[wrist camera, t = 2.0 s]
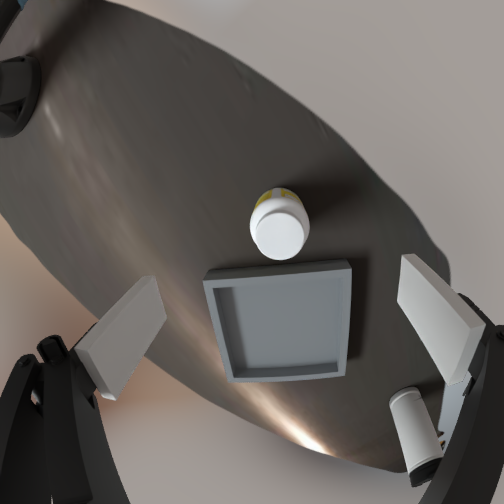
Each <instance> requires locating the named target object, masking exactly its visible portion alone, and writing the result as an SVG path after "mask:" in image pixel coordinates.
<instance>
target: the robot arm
mask: <svg viewBox="0 0 504 504" xmlns="http://www.w3.org/2000/svg"><path fill="white" fill-rule="evenodd" d="M27 1H28V0H0V44H1V42H2V40H3V38H4V37H5V35H6V33H7V32H8V30H9V28H10V27H11V25H12V24H13V22H14V20H15V19H16V17H17V16H18V14H19V13H20V11H22V10H23V8H24V5H25V4H26V2H27ZM40 82H41V69H40V65H39V62H38V61H37V59H35V58H34V57H29V56H18V57H14V58H10V59H6V60H2V61H0V138H7V137H13V136H15V135H17V134H18V133H19V132H20V131H21V130H22V129H23V128H24V126H25V125H26V123H27V122H28V120H29V118H30V116H31V114H32V112H33V109H34V107H35V104H36V101H37V97H38V94H39V89H40ZM397 302H398V304H399V305H400V307H401V308H402V310H403V311H404V313H405V314H406V316H407V317H408V319H409V320H410V322H411V324H412V325H413V327H414V328H415V330H416V332H417V333H418V335H419V336H420V338H421V340H422V341H423V343H424V345H425V346H426V348H427V350H428V352H429V353H430V355H431V357H432V358H433V360H434V362H435V364H436V365H437V367H438V369H439V371H440V373H441V375H442V376H443V378H444V380H445V382H446V384H447V386H451V385H454V384H457V383H459V382H462V381H463V380H464V378H465V375H466V373H467V371H469V372H470V374H471V376H472V377H471V379H470V381H469V383H468V386H467V387H466V389H465V391H464V393H463V396H465V398H464V402H463V405H462V408H461V411H460V414H459V417H458V420H457V423H456V426H455V429H454V431H453V434H452V437H451V439H450V442H449V444H448V447H447V449H446V452H445V454H444V456H443V458H442V460H441V462H440V465H439V467H438V469H437V471H436V473H435V475H434V477H433V479H432V481H431V483H430V485H429V486H428V488H427V490H426V492H425V493H424V495H423V497H422V499H421V500H420V502H419V504H490V503H491V500H492V497H493V495H494V492H495V490H496V487H497V484H498V481H499V478H500V475H501V472H502V468H503V464H504V325H497V326H495V325H494V324H493V323H492V322H491V320H490V319H489V318H488V317H487V316H486V315H485V314H484V313H483V312H482V311H481V310H479V308H478V307H477V306H476V305H475V304H474V303H473V302H472V301H471V300H470V299H469V298H468V297H466V296H464V295H462V294H461V293H458V294H457V293H456V292H455V291H454V290H453V289H452V288H451V287H450V286H449V285H448V284H447V283H446V282H445V281H444V280H443V279H441V278H440V277H439V276H438V275H437V274H436V273H435V272H434V271H433V270H432V269H431V268H430V267H429V266H428V265H426V264H425V263H424V262H423V261H422V260H421V259H420V258H419V257H417V256H416V255H415V254H407V255H402V260H401V272H400V282H399V291H398V299H397ZM166 319H167V316H166V313H165V309H164V306H163V303H162V300H161V296H160V293H159V289H158V286H157V282H156V279H155V275H153V276H143V277H141V278H140V279H139V280H138V281H137V282H136V283H135V284H134V285H133V286H132V287H131V288H130V289H129V290H128V291H127V292H126V293H125V294H124V295H123V296H122V297H121V299H120V300H119V301H118V302H117V303H116V304H115V305H114V306H113V307H112V308H111V309H110V310H109V311H108V312H107V313H106V314H105V315H104V316H103V317H102V318H101V319H100V320H99V321H98V322H97V323H95V324H94V325H93V326H92V327H91V328H90V329H89V330H88V332H86V333H85V334H84V335H83V337H81V339H80V340H79V341H78V342H77V343H76V344H75V345H74V346H73V347H72V348H71V350H70V351H69V352H68V350H67V348H66V346H65V344H64V342H63V340H62V338H61V336H59V335H52V336H48V337H46V338H45V339H43V340H42V341H40V343H39V344H38V346H37V350H38V352H39V354H40V355H41V357H42V359H43V361H44V362H45V363H39V362H38V360H37V359H36V357H35V355H33V354H27V355H24V356H22V357H21V358H20V359H19V360H18V361H17V362H16V364H15V366H14V368H13V370H12V372H11V374H10V376H9V379H8V381H7V383H6V385H5V388H4V390H3V392H2V395H1V397H0V504H51V494H52V499H53V504H130V502H129V499H128V497H127V495H126V492H125V490H124V488H123V485H122V482H121V480H120V477H119V475H118V472H117V469H116V466H115V463H114V461H113V458H112V455H111V451H110V448H109V445H108V442H107V439H106V435H105V431H104V427H103V424H102V420H101V416H100V412H99V407H98V403H97V399H96V397H95V395H94V394H93V392H94V391H95V390H96V388H97V389H98V391H99V392H100V394H101V395H102V397H104V398H108V399H112V400H117V398H118V396H119V395H120V393H121V391H122V390H123V388H124V386H125V384H126V383H127V381H128V380H129V378H130V376H131V375H132V373H133V372H134V370H135V368H136V367H137V365H138V363H139V362H140V360H141V359H142V357H143V355H144V354H145V352H146V350H147V349H148V347H149V346H150V344H151V342H152V341H153V339H154V338H155V336H156V335H157V333H158V331H159V330H160V328H161V327H162V325H163V324H164V322H165V320H166ZM31 394H32V395H33V396H34V397H35V399H36V400H37V403H36V405H35V404H34V403H33V402H32V400H31ZM465 394H466V395H465Z"/></svg>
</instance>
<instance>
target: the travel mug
mask: <svg viewBox="0 0 504 504" xmlns="http://www.w3.org/2000/svg"><path fill="white" fill-rule="evenodd" d="M389 405H390V408H391V411H392V415H393V418H394V421H395V425H396V428H397V432H398V435H399V439H400V442H401V446H402V450H403V454H404V457H405V461H406V465H407V470H408V474H409V477H410V478H411V479H410V480H411V485H412V487H417V486H420V485H422V484H423V483H425V482H427V481H430V480H432V479H433V477H434V475H435V473H436V471H437V469H438V467H439V465H440V462H441V460H442V458H443V456H444V455H443V452H442V449H441V446H440V443H439V440H438V437H437V435H436V432H435V429H434V427H433V424H432V422H431V419H430V416H429V414H428V411H427V409H426V407H425V404H424V402H423V399H422V397H421V395H420V392H419V390H418V389H417V388H416V387H407V388H404V389H402V390H400V391H398V392H397V393H395V394H394V395H393V396H392V398H391V399H390V401H389Z"/></svg>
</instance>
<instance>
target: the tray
mask: <svg viewBox="0 0 504 504" xmlns="http://www.w3.org/2000/svg"><path fill="white" fill-rule="evenodd" d="M351 280H352V268H351V266H350V265H349V263H348V261H347V259H336V260H325V261H314V262H303V263H292V264H280V265H268V266H256V267H244V268H232V269H219V270H209V271H208V272H207V274H206V276H205V278H204V279H203V285H204V289H205V294H206V298H207V302H208V306H209V311H210V315H211V319H212V323H213V327H214V331H215V335H216V339H217V343H218V347H219V350H220V354H221V358H222V362H223V365H224V369H225V373H226V376H227V380H228V382H277V381H295V380H308V379H319V378H328V377H337V376H345V368H346V359H347V349H348V337H349V324H350V307H351Z"/></svg>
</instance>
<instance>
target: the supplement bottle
mask: <svg viewBox="0 0 504 504" xmlns="http://www.w3.org/2000/svg"><path fill="white" fill-rule="evenodd" d="M309 228H310V226H309V219H308V216H307V213H306V211H305V209H304V206H303V204H302V202H301V200H300V199H299V197H298V196H297V195H296V194H295V193H294V192H292V191H290V190H288V189H285V188H273V189H270V190H268V191H266V192H265V193H264V194H263V195H262V196H261V197H260V198H259V200H258V201H257V204H256V206H255V209H254V211H253V214H252V217H251V221H250V231H251V235H252V238H253V240H254V241H255V243H256V244H257V246H258V248H259V250H260V251H261V252H262V253H263V254H264V255H265V256H267V257H269V258H271V259H275V260H285V259H289V258H291V257H293V256H295V255H296V254H297V253H298V252H299V251H300V250H301V248H302V246H303V244H304V243H305V241H306V239H307V237H308V234H309Z"/></svg>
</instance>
